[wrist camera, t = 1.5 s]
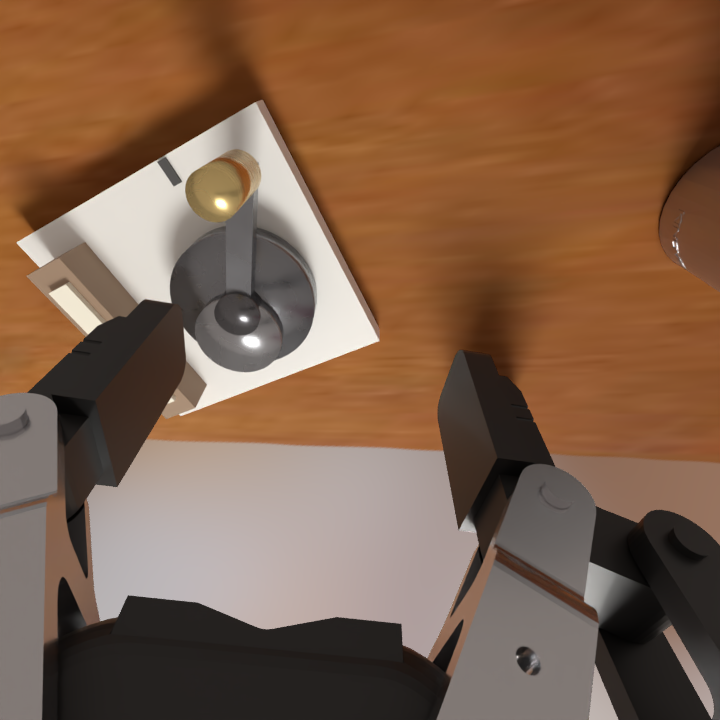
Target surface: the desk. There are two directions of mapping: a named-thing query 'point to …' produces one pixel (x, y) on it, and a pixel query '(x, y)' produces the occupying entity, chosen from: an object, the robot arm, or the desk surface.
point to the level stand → (176, 234)
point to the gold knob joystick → (240, 273)
